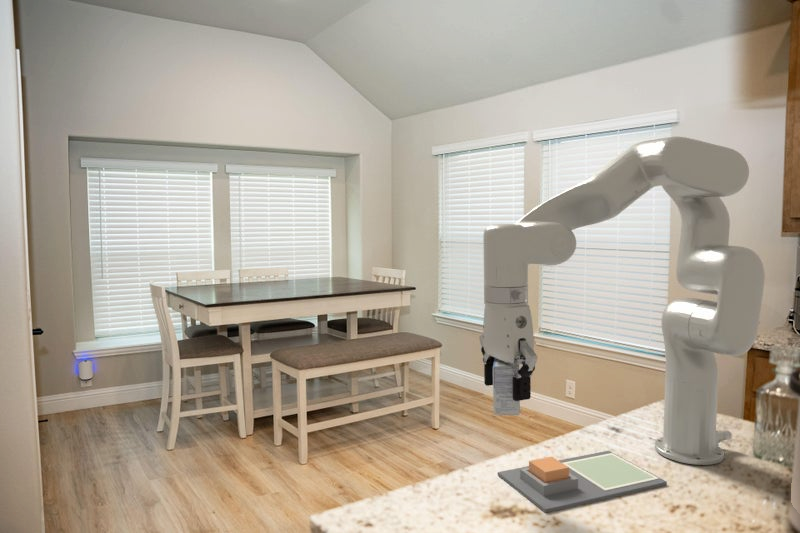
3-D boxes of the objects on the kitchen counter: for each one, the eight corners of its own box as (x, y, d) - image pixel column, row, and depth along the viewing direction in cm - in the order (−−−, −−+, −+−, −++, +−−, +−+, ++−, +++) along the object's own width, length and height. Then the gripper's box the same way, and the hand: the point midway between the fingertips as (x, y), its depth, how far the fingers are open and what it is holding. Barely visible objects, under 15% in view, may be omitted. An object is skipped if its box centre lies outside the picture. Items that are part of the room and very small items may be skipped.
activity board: (608, 453, 119) (609, 442, 119) (666, 484, 105) (667, 472, 105) (497, 475, 110) (497, 462, 110) (545, 512, 96) (545, 498, 96)
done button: (551, 469, 108) (552, 456, 108) (568, 480, 104) (569, 467, 103) (528, 473, 106) (528, 461, 106) (545, 485, 102) (545, 472, 102)
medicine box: (519, 416, 100) (519, 366, 99) (493, 415, 101) (492, 365, 100) (519, 401, 107) (519, 354, 106) (495, 400, 108) (494, 354, 107)
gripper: (554, 300, 95) (554, 403, 97) (498, 288, 111) (499, 376, 113) (514, 304, 93) (515, 410, 94) (463, 291, 109) (464, 381, 110)
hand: (506, 391), depth 104 cm, fingers closed on medicine box, 9 cm apart
